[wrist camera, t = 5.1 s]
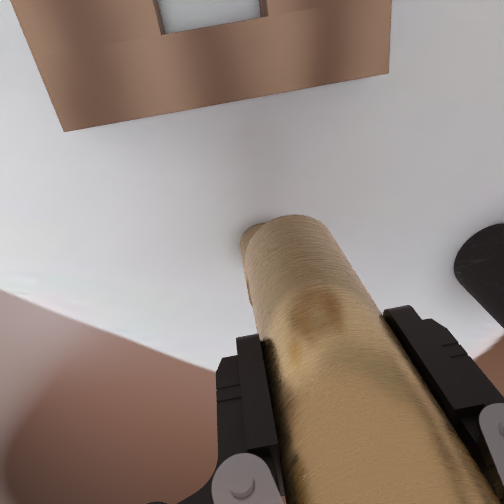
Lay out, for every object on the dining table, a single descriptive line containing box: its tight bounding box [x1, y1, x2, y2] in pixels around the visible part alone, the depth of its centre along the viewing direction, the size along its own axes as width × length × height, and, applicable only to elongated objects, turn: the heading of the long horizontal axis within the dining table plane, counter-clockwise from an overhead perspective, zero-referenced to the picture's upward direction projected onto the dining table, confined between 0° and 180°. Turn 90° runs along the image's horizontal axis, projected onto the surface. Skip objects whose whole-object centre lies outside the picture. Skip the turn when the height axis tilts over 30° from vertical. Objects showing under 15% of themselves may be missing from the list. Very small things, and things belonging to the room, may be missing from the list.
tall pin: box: [245, 215, 501, 504], centre depth 10 cm, size 4×4×14 cm
